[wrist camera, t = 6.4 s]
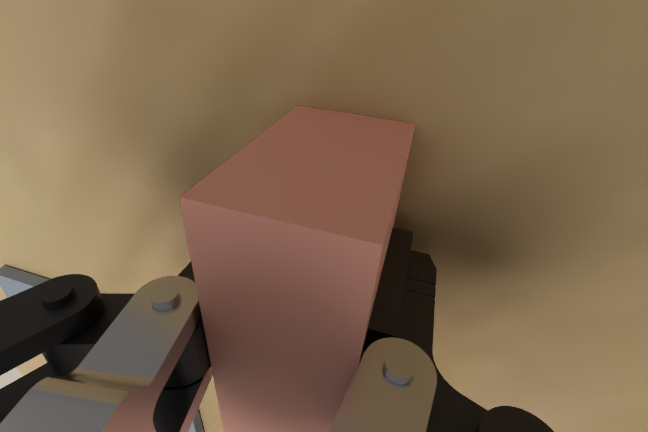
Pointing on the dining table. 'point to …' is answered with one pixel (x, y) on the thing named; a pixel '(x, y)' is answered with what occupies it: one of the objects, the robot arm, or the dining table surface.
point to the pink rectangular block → (294, 262)
